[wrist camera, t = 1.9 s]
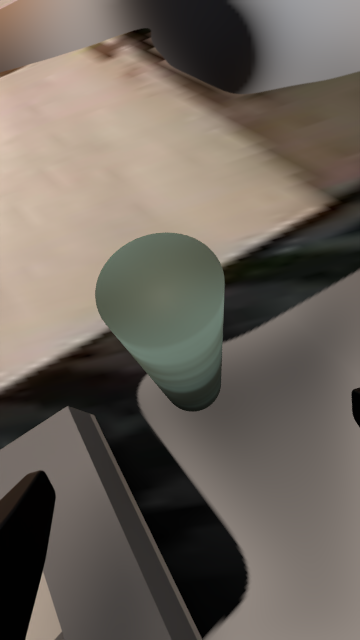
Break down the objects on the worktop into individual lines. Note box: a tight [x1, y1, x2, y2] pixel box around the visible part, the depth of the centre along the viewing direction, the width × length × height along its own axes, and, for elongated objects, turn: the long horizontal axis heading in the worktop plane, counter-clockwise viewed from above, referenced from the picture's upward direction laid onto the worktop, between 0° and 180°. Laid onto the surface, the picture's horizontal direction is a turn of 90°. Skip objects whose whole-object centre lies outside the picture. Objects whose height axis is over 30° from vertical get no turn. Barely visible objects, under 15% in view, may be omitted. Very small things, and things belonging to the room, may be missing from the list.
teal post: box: [95, 233, 224, 411], centre depth 15 cm, size 4×4×13 cm
